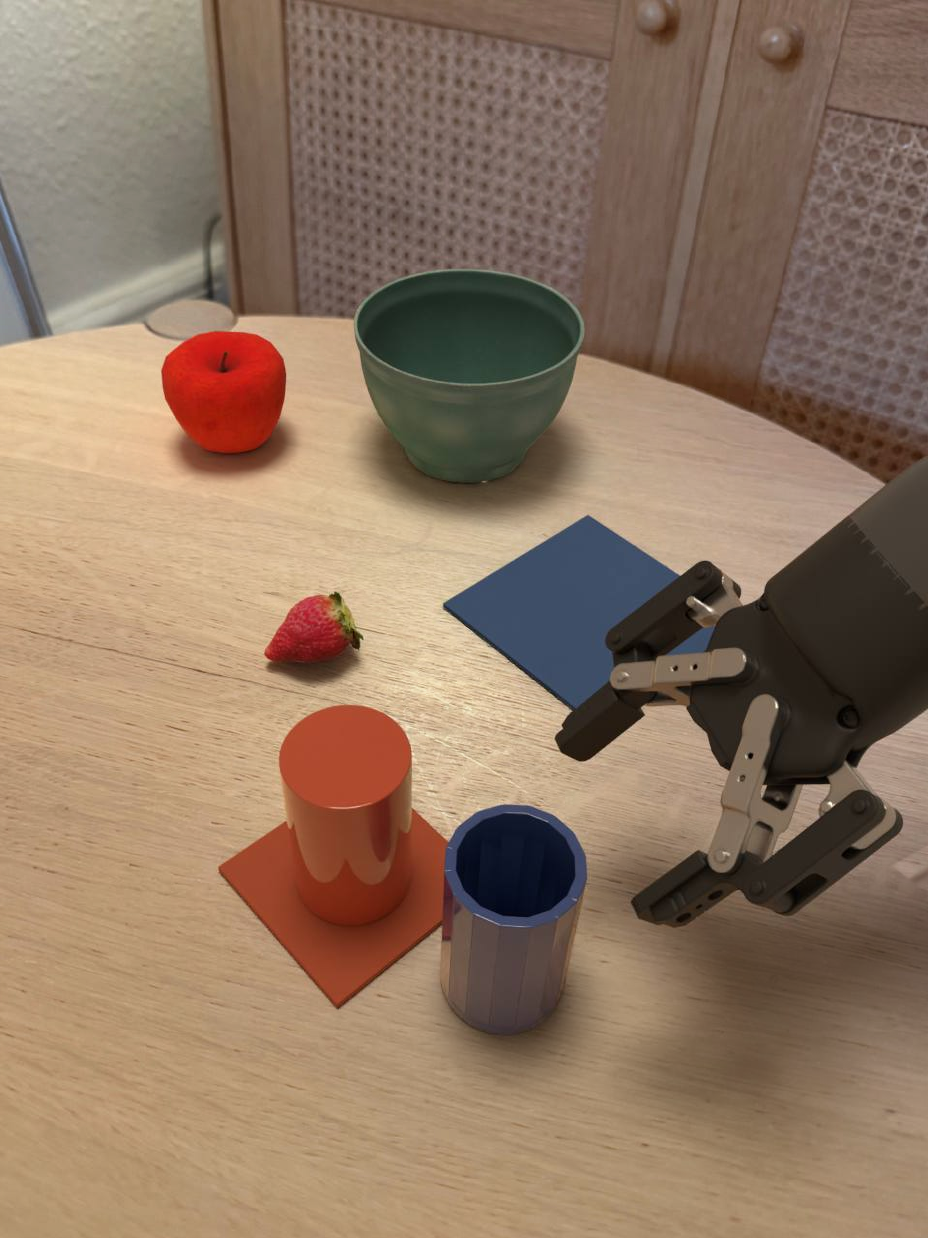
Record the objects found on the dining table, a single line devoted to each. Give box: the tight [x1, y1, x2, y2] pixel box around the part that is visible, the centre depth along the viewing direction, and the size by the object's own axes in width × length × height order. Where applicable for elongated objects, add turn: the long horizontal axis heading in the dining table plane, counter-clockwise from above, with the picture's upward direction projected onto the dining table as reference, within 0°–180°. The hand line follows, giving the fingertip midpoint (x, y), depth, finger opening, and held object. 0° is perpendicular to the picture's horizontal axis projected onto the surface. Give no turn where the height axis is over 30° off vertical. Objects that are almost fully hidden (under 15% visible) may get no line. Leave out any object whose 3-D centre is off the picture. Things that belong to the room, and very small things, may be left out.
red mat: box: [217, 807, 449, 1009], centre depth 56 cm, size 10×10×1 cm
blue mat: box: [442, 514, 715, 711], centre depth 71 cm, size 14×14×1 cm
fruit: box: [263, 591, 364, 664], centre depth 66 cm, size 4×6×5 cm
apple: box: [160, 330, 287, 454], centre depth 80 cm, size 9×9×8 cm
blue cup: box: [439, 803, 588, 1036], centre depth 49 cm, size 6×6×10 cm
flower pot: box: [353, 268, 585, 484], centre depth 79 cm, size 16×16×11 cm
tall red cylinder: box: [278, 704, 413, 926], centre depth 52 cm, size 6×6×10 cm
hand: (603, 828), depth 46 cm, fingers open, 8 cm apart
